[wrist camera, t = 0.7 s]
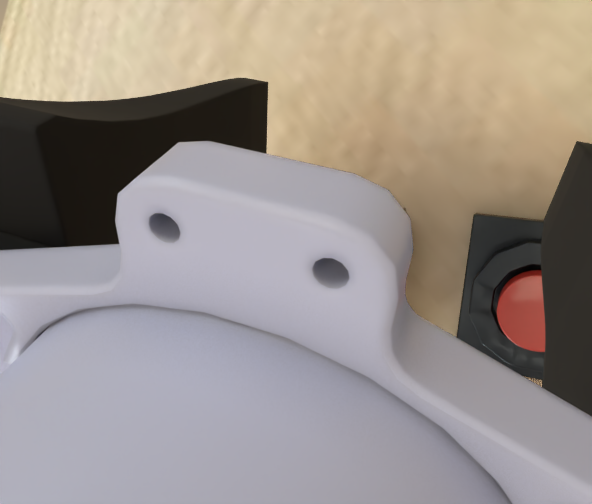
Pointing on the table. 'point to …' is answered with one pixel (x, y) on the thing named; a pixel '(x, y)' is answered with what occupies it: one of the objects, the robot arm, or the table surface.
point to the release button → (523, 311)
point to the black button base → (498, 286)
